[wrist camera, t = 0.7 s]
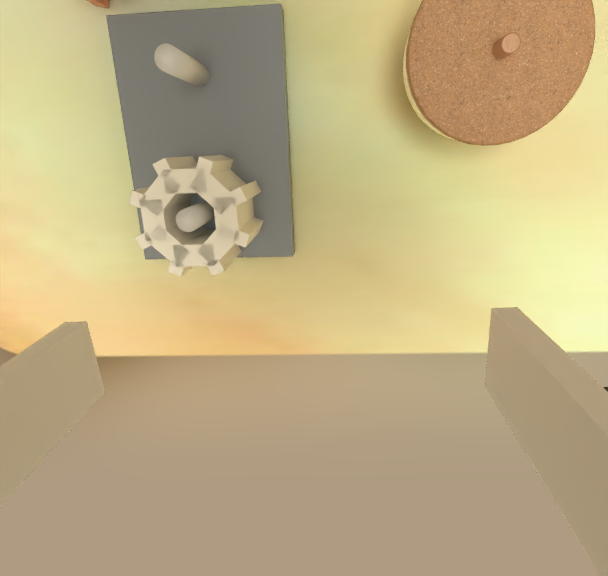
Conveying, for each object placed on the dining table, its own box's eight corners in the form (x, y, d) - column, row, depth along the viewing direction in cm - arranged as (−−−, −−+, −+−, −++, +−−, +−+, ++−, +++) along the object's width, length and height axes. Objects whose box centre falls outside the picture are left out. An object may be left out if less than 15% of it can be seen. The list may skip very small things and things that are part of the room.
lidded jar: (395, 153, 35) (416, 156, 26) (387, 2, 31) (407, -56, 22) (533, 136, 33) (605, 132, 25) (539, -24, 30) (625, -94, 21)
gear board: (116, 21, 33) (50, -17, 25) (283, 10, 32) (267, -33, 24) (152, 255, 39) (107, 281, 31) (294, 252, 38) (284, 278, 30)
